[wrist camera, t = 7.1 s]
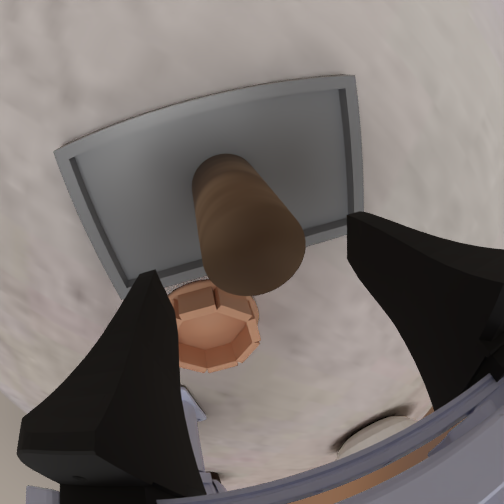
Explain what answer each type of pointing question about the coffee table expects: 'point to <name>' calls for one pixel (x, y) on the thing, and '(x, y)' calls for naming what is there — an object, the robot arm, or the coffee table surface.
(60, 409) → the robot arm
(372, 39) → the coffee table surface
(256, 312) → the terracotta cup
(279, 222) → the walnut peg
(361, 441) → the bowl
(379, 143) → the coffee table surface
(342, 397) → the coffee table surface
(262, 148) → the charcoal tray
